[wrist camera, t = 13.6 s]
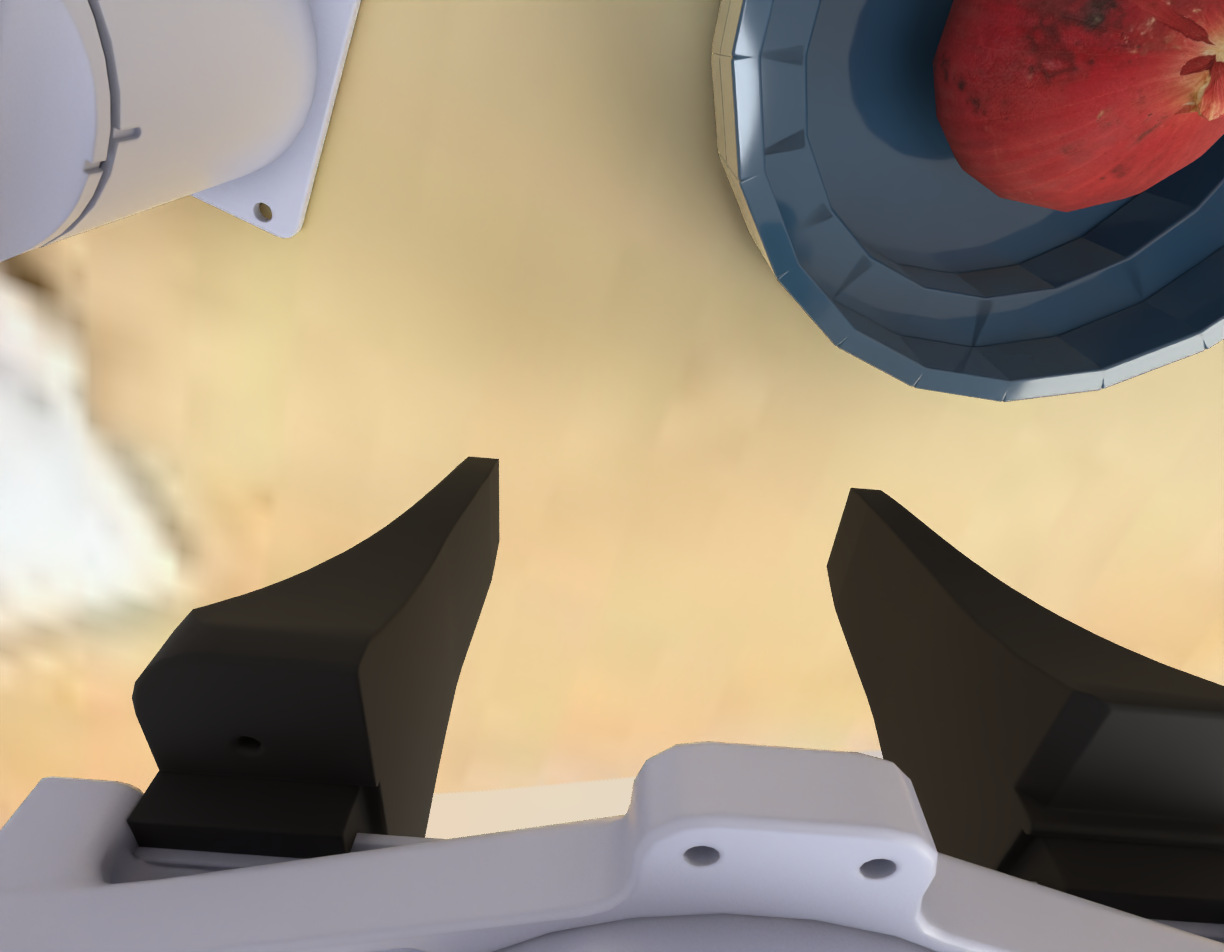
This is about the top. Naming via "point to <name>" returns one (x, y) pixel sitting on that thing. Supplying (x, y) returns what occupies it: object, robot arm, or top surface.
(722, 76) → the bowl
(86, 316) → the top surface
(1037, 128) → the pomegranate
